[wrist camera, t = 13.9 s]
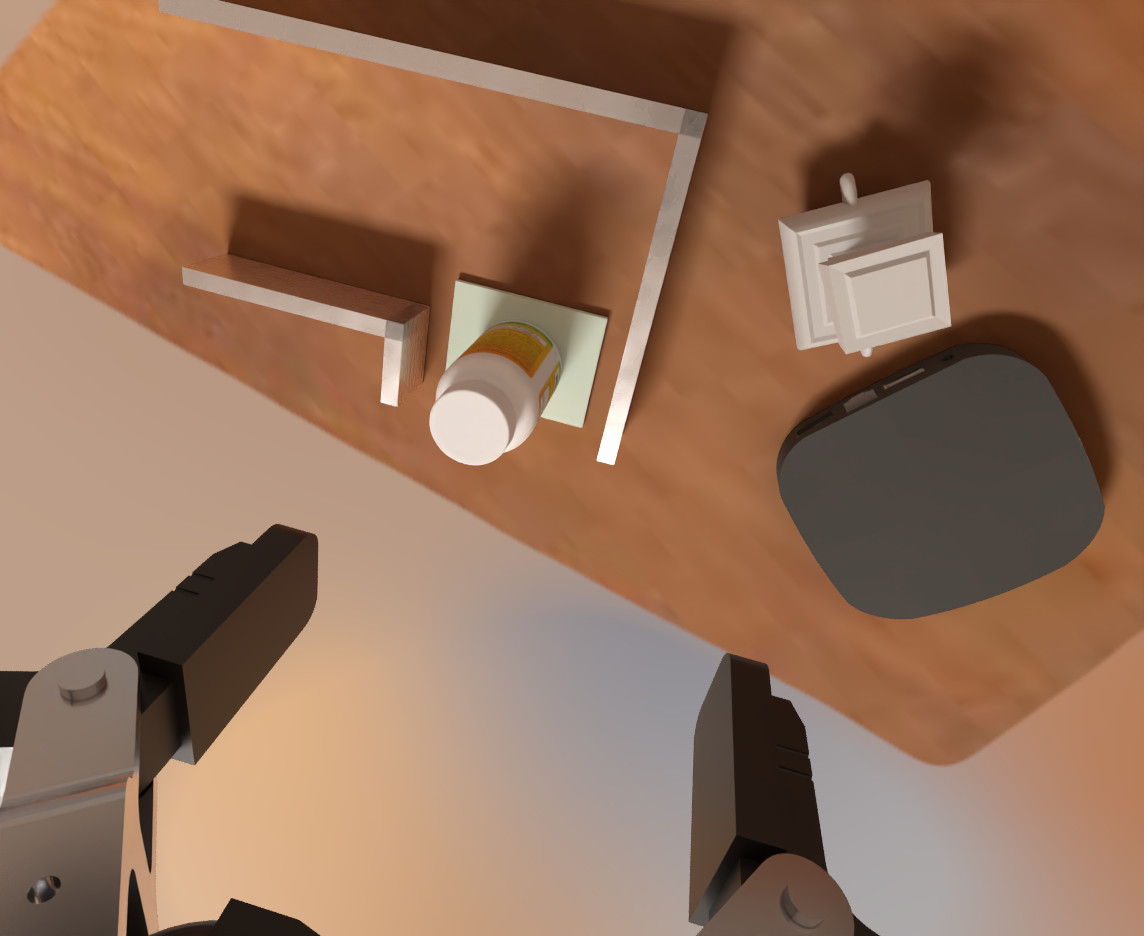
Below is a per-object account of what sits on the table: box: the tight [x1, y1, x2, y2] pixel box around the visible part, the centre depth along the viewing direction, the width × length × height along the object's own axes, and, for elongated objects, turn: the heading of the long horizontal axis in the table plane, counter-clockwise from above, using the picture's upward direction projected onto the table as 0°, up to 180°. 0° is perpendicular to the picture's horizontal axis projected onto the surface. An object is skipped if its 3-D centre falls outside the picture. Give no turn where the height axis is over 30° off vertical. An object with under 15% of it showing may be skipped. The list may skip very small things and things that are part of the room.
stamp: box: [778, 173, 951, 357], centre depth 31 cm, size 9×7×8 cm
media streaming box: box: [776, 343, 1105, 619], centre depth 39 cm, size 15×15×3 cm
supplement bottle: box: [430, 320, 562, 465], centre depth 36 cm, size 5×5×10 cm
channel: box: [159, 0, 708, 465], centre depth 36 cm, size 18×26×4 cm
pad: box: [446, 279, 608, 428], centre depth 40 cm, size 7×9×1 cm
